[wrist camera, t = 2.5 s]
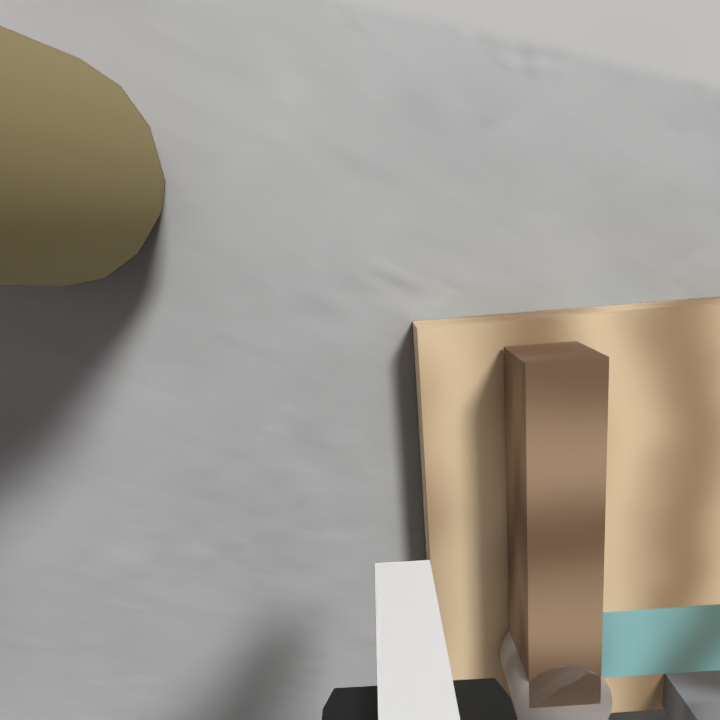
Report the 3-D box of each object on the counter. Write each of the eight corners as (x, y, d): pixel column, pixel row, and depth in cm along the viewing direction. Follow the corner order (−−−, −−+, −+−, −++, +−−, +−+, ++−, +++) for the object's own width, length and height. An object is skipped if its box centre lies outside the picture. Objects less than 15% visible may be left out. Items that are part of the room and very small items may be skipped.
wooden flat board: (434, 690, 29) (449, 784, 24) (412, 321, 24) (425, 342, 19) (851, 663, 28) (954, 752, 23) (908, 282, 24) (1049, 293, 19)
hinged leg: (582, 684, 26) (611, 741, 23) (500, 690, 26) (517, 747, 23) (588, 340, 22) (623, 356, 19) (491, 347, 22) (511, 364, 19)
